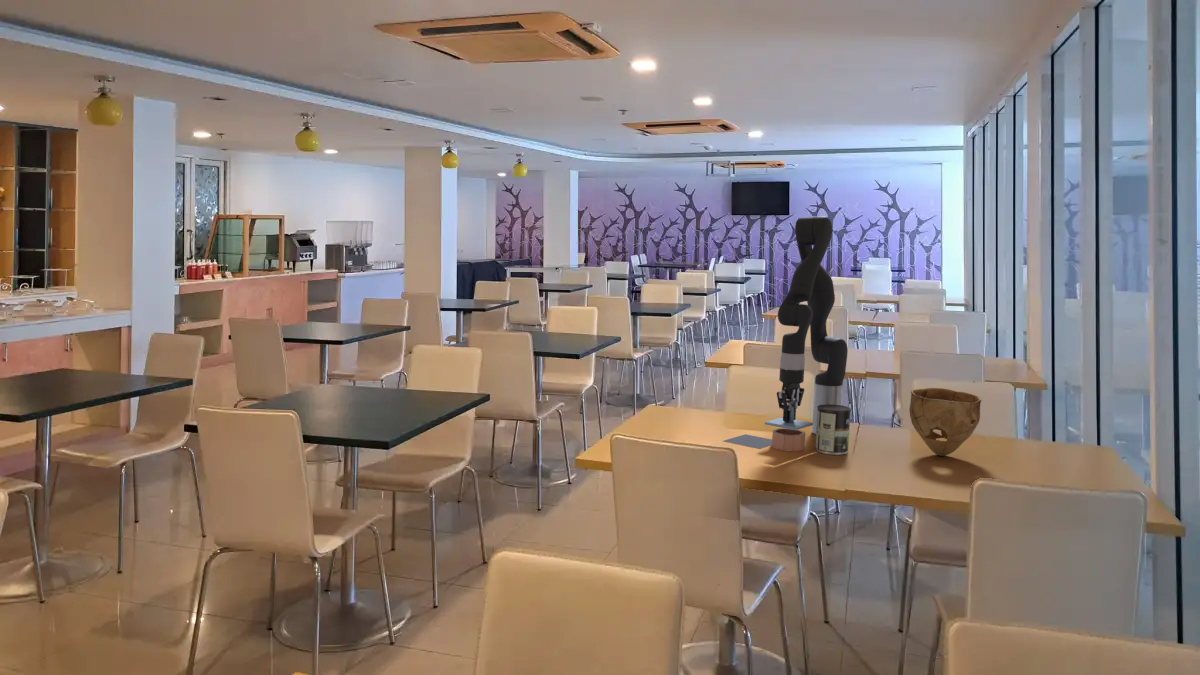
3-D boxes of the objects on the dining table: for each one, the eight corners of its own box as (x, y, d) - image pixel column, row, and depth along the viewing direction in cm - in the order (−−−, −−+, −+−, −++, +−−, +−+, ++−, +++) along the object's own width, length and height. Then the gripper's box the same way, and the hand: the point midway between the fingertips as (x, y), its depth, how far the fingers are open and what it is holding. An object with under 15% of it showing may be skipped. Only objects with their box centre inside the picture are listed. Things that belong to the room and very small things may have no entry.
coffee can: (847, 448, 299) (850, 405, 298) (849, 456, 289) (852, 411, 288) (814, 445, 301) (816, 403, 300) (815, 453, 291) (817, 409, 290)
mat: (745, 435, 313) (745, 434, 313) (782, 443, 304) (782, 441, 304) (722, 442, 302) (722, 441, 302) (759, 450, 293) (759, 448, 293)
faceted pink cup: (782, 443, 304) (783, 426, 303) (810, 449, 297) (811, 432, 296) (765, 448, 296) (766, 431, 295) (794, 454, 290) (795, 437, 289)
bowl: (975, 452, 299) (979, 390, 296) (978, 467, 280) (983, 402, 277) (906, 445, 306) (911, 385, 303) (905, 459, 287) (910, 396, 284)
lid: (782, 419, 303) (783, 401, 303) (812, 425, 296) (814, 407, 295) (764, 424, 295) (765, 406, 294) (795, 430, 288) (796, 411, 287)
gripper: (792, 363, 301) (789, 416, 303) (770, 367, 291) (767, 422, 293) (813, 366, 296) (810, 419, 298) (791, 370, 286) (788, 426, 288)
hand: (789, 420), depth 295 cm, fingers closed on lid, 2 cm apart
